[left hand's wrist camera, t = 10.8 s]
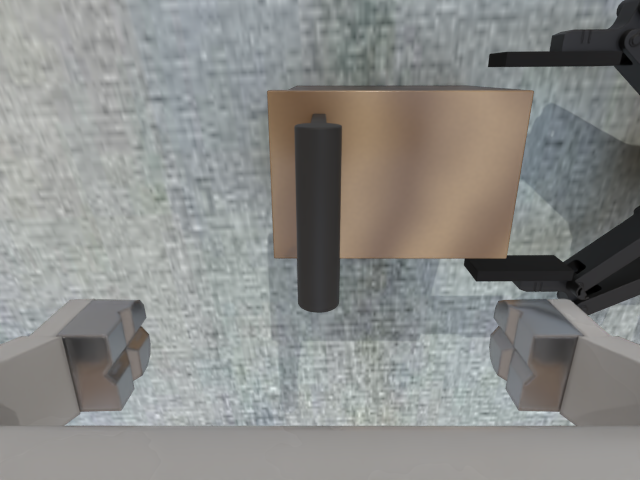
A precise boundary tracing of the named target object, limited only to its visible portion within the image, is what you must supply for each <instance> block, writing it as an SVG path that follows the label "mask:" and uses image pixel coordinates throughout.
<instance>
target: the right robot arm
mask: <svg viewBox="0 0 640 480" xmlns="http://www.w3.org/2000/svg"><path fill="white" fill-rule="evenodd" d="M560 66H614V67H615V68H616V69H617V70H618V71H619V72H620V73H621V75H622V76H623V77H624V78H625V79H626V80H627V81H628V82H629V83H630V85H631V86H632V87H633V88H634V89H635V90H636V91H637V92H638V94H639V95H640V0H624V1H623V2H621V4H620V5H619V6H618V8H617V19H616V21H615V22H614V24H613V25H612V26H611V27H610V28H609V29H601V30H570V31H564V32H560V33H558V34H555V35H553V36H552V40H551V46H550V52H502V53H494V54H490V55H489V64H488V67H560ZM464 266H465V267H466V268H467V270H468V271H469V272H470V274H471V275H472V276H473V278H474V279H475V280H476V281H512V282H513V283H514V284H515V285H516V286H517V287H518V288H519V289H521V290H523V291H526V292H534V291H535V292H539V291H541V292H546V291H558V292H557V297H558V299H568V300H571V301H572V302H573V303H574V304H575V305H577V306H578V307H579V308H580V309H581V310H582V311H583V312H584V313H586V314H587V315H590V314H592V313H595V312H597V311H600V310H602V309H605V308H607V307H610V306H612V305H615V304H617V303H620V302H622V301H625V300H627V299H630V298H633V297H635V296H638V295H640V206H638V207H637V208H636V209H635V210H634V215H633V216H631V217H630V218H628V219H627V220H625V221H624V222H623V223H621V224H620V225H618V226H617V227H615V228H614V229H612V230H611V231H609V232H608V233H606V234H605V235H603V236H602V237H600V238H599V239H597V240H596V241H594V242H593V243H591V244H590V245H588V246H587V247H585V248H584V249H582V250H581V251H579V252H578V253H576V254H575V255H573V256H572V257H570V258H569V259H567V260H566V261H564V262H562V261H561V260H560V259H558V258H557V257H556V256H554V255H510V256H507V257H506V258H505V259H501V258H465V261H464Z"/></svg>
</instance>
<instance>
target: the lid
mask: <svg viewBox="0 0 640 480" xmlns="http://www.w3.org/2000/svg"><path fill="white" fill-rule="evenodd" d="M533 94H534V91H532V90H269V91H267V98H268V122H269V146H270V170H271V195H272V219H273V243H274V258H297V276H298V304H299V306H300V307H301V308H302V309H304V310H306V311H310V312H327V311H331V310H333V309H335V308H336V307H337V306H338V304H339V278H340V258H501V259H505V258H506V257H507V251H508V245H509V239H510V233H511V227H512V221H513V215H514V209H515V203H516V197H517V191H518V185H519V179H520V173H521V167H522V160H523V154H524V148H525V142H526V136H527V130H528V124H529V118H530V112H531V106H532V100H533Z"/></svg>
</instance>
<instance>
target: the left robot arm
mask: <svg viewBox="0 0 640 480" xmlns="http://www.w3.org/2000/svg"><path fill="white" fill-rule="evenodd" d="M145 319H146V313H145V308H144V304H143V303H142V302H141V301H140V300H111V299H74V300H69V301H68V302H67V303H66V304H65V305H64V306H62V307H61V308H60V309H59V310H58V311H57V312H56V313H55V314H53V315H52V316H51V317H50V318H49V319H48V320H47V321H46V322H44V323H43V324H42V325H41V326H40V327H39V328H38V329H36V330H35V331H34V332H33V333H32V334H31V335H30V336H21V337H19V338H16V339H13V340H11V341H8V342H6V343H3V344H1V345H0V480H640V345H639V344H637V343H634V342H632V341H629V340H627V339H624V338H621V337H619V336H610V335H609V334H608V333H607V332H606V331H605V330H604V329H602V328H601V327H600V326H599V325H598V324H597V323H596V322H595V321H593V320H592V319H591V318H590V317H589V316H588V315H587V314H586V313H584V312H583V311H582V310H581V309H580V308H579V307H578V306H577V305H575V304H574V303H573V302H572V301H571V300H568V299H529V300H502V301H498V303H497V305H496V308H495V313H494V319H495V320H496V322H497V324H498V325H499V327H498V328H497V329H496V330H495V331H494V332H493V333H492V334H491V338H490V346H489V349H490V359H491V362H492V365H493V368H494V370H495V372H496V373H497V375H498V376H500V377H501V378H503V379H504V380H506V381H507V384H506V390H507V392H508V394H509V395H510V397H511V399H512V400H513V402H514V404H515V405H516V407H517V409H518V410H519V411H553V412H560V414H561V415H562V416H564V417H565V418H566V419H568V420H569V421H571V422H572V423H573V424H575V425H576V426H64V425H66V424H67V423H68V422H70V421H71V420H72V419H74V418H75V417H76V416H78V415H79V414H80V412H87V411H121V410H122V409H123V407H124V405H125V404H126V402H127V400H128V399H129V397H130V395H131V394H132V392H133V390H134V383H133V381H134V380H136V379H137V378H139V377H140V376H142V375H143V373H144V372H145V370H146V368H147V366H148V362H149V358H150V337H149V334H148V333H147V332H146V331H145V330H144V329H143V328H142V327H141V325H142V324H143V322H144V320H145Z"/></svg>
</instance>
